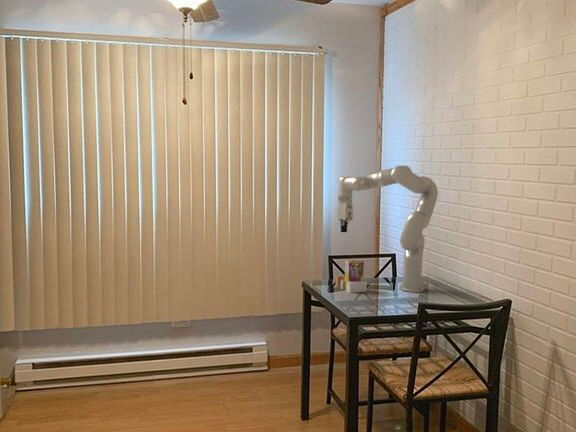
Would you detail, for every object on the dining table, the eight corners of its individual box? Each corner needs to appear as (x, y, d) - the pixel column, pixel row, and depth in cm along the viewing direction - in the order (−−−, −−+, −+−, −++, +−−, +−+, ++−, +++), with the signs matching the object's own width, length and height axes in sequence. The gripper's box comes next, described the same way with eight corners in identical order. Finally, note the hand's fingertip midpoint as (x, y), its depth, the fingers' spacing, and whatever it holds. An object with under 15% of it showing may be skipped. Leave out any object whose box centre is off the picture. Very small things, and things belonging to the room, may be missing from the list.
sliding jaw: (350, 284, 324) (350, 275, 323) (359, 288, 316) (359, 278, 315) (333, 285, 320) (334, 276, 319) (342, 289, 312) (342, 279, 311)
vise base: (347, 284, 330) (348, 273, 330) (369, 293, 310) (370, 281, 310) (325, 285, 324) (325, 274, 324) (346, 295, 305) (346, 283, 304)
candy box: (358, 288, 316) (360, 259, 314) (362, 290, 312) (364, 261, 310) (343, 289, 312) (345, 260, 310) (347, 291, 308) (349, 261, 306)
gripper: (358, 200, 330) (356, 233, 332) (344, 197, 343) (342, 230, 345) (346, 200, 327) (344, 234, 329) (332, 197, 340) (331, 230, 342)
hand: (343, 231), depth 337 cm, fingers closed
